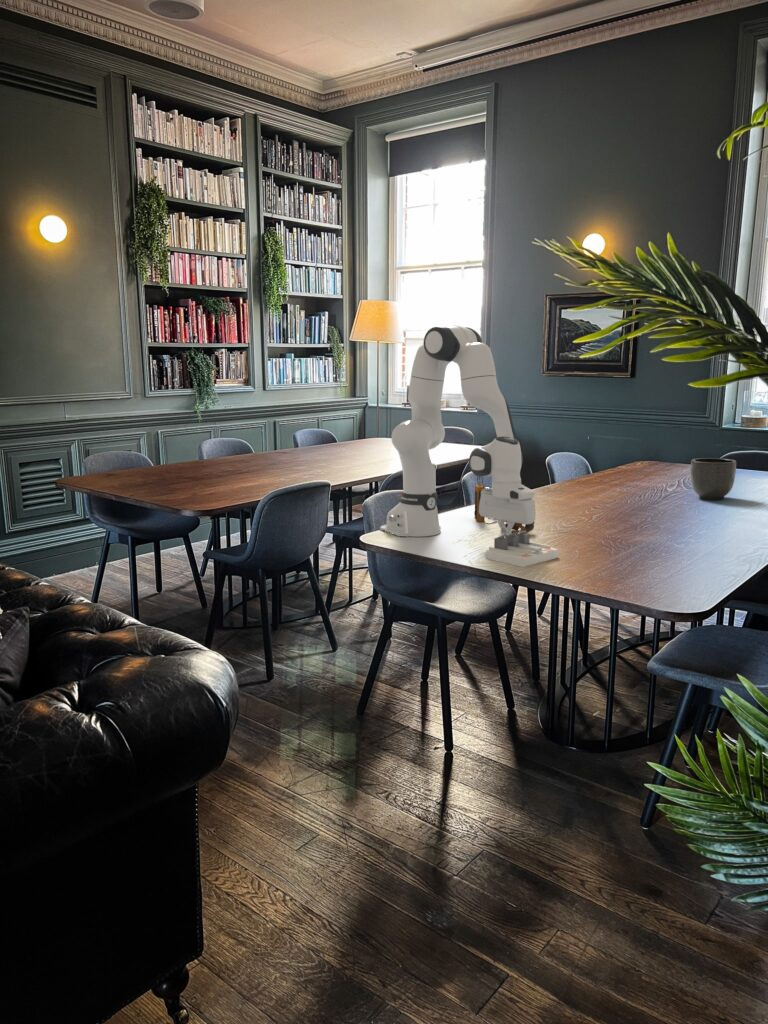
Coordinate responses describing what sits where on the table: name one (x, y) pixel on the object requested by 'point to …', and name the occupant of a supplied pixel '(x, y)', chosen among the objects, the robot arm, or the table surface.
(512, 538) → the tab middle
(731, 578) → the table surface
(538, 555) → the switch board
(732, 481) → the planter
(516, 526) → the brown curved ring piece
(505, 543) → the tab
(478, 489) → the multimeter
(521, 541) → the tab
